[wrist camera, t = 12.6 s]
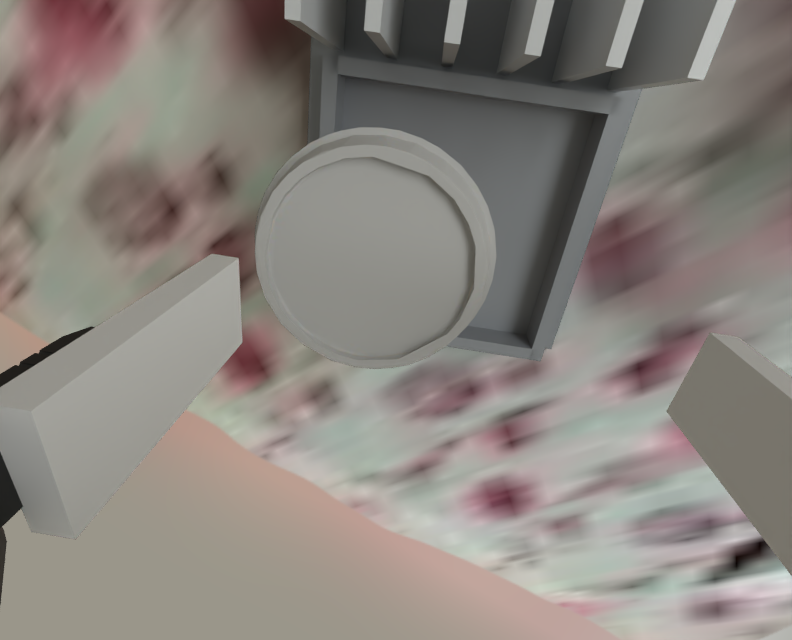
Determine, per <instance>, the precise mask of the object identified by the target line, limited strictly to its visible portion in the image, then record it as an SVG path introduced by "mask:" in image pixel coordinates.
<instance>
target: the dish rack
mask: <svg viewBox="0 0 792 640" xmlns="http://www.w3.org/2000/svg"><path fill="white" fill-rule="evenodd" d="M735 2H736V0H285V19H286V20H287V21H289V22H290V23H292V24H293V25H295V26H296V27H298V28H299V29H301V30H303V31H304V32H306V33H307V34H309V35H310V36H311V58H310V87H309V116H308V144H309V143H311V142H313V141H315V140H318V139H320V138H322V137H324V136H326V135H329V134H332V133H335V132H338V131H342V130H348V129H353V128H359V127H373V128H387V129H393V130H400V131H403V132H406V133H408V134H411V135H414V136H417V137H420V138H422V139H424V140H426V141H428V142H430V143H432V144H433V145H435V146H437V147H439V148H441V149H442V150H443V151H444V152H446V153H447V154H448V155H449V156H450V157H452V158H453V159H454V160H455V161H457V162H458V163H459V164H460V165H461V166H462V167H463V168H464V170H465V171H466V172H467V173H468V175H469V176H470V177H471V178H472V180H473V181H474V182H475V184H476V185H477V186H478V188H479V190H480V192H481V194H482V196H483V198H484V200H485V202H486V204H487V205H488V208H489V212H490V215H491V219H492V222H493V226H494V229H495V242H496V263H495V269H494V275H493V280H492V283H491V286H490V288H489V291H488V294H487V296H486V299H485V301H484V303H483V305H482V306H481V308H480V309H479V311H478V312H477V314H476V316H475V317H474V318H473V320H472V321H471V322H470V323H469V324H468V326H467V327H466V328H465V329H464V330H463V331H462V332H461V333H460V334H459V335H458V336H457V337H456V338H455V339H454V340H452V341H451V342H450V343H449V344H448V345H447V346H448V347H454V348H461V349H467V350H473V351H479V352H486V353H492V354H498V355H504V356H511V357H517V358H523V359H530V360H536V361H541V359H542V356H543V353H544V350H545V348H547V349H551V348H552V345H553V342H554V339H555V336H556V333H557V331H558V328H559V325H560V322H561V319H562V316H563V313H564V311H565V308H566V305H567V302H568V299H569V296H570V293H571V291H572V288H573V285H574V282H575V279H576V276H577V274H578V271H579V268H580V265H581V262H582V259H583V256H584V254H585V251H586V248H587V245H588V242H589V239H590V236H591V234H592V231H593V228H594V225H595V222H596V219H597V217H598V214H599V211H600V208H601V205H602V202H603V199H604V197H605V194H606V191H607V188H608V185H609V182H610V179H611V177H612V174H613V171H614V168H615V165H616V162H617V160H618V157H619V154H620V151H621V148H622V145H623V142H624V140H625V137H626V134H627V131H628V128H629V125H630V122H631V120H632V117H633V114H634V111H635V108H636V105H637V102H638V100H639V97H640V94H641V91H642V89H643V88H650V87H657V86H664V85H672V84H679V83H686V82H694V81H701V80H704V78H705V76H706V73H707V71H708V68H709V66H710V63H711V61H712V58H713V56H714V54H715V51H716V49H717V46H718V44H719V41H720V39H721V36H722V34H723V31H724V29H725V26H726V24H727V21H728V19H729V17H730V14H731V12H732V9H733V7H734V4H735Z"/></svg>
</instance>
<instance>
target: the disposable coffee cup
mask: <svg viewBox="0 0 792 640" xmlns="http://www.w3.org/2000/svg"><path fill="white" fill-rule="evenodd" d="M255 257H256V268H257V275H258V278H259V281H260V284H261V287H262V290H263V293H264V296H265V299H266V300H267V302H268V303H269V305H270V307H271V308H272V310H273V311H274V313H275V315H276V316H277V318H278V319H279V321H280V323H281V324H282V325H283V326H284V327H285V328H286V329H287V330H288V331H289V332H291V333H292V334H293V335H294V336H295V337H296V338H297V339H298V340H299V341H300V342H301V343H302V344H303V345H304V346H306V347H308V348H310V349H312V350H313V351H315V352H317V353H319V354H321V355H322V356H324V357H326V358H328V359H330V360H332V361H335V362H339V363H342V364H346V365H349V366H353V367H359V368H369V369H382V368H393V367H399V366H405V365H409V364H412V363H415V362H417V361H420V360H423V359H425V358H428V357H430V356H431V355H433V354H435V353H436V352H438V351H439V350H441V349H443V348H444V347H446V346H447V345H448V344H449V343H450V342H451V341H452V340H454V339H455V338H456V337H457V336H458V335H459V334H460V333H461V332H462V331H463V330H464V329H465V328H466V327H467V326H468V324H469V323H470V322H471V321H472V320H473V318H474V317H475V316H476V314H477V312H478V311H479V309H480V308H481V306H482V305H483V303H484V301H485V299H486V296H487V294H488V291H489V288H490V286H491V283H492V280H493V275H494V269H495V263H496V242H495V229H494V226H493V222H492V219H491V215H490V212H489V208H488V205H487V204H486V202H485V200H484V198H483V196H482V194H481V192H480V190H479V188H478V186H477V185H476V184H475V182H474V181H473V180H472V178H471V177H470V176H469V175H468V173H467V172H466V171H465V170H464V168H463V167H462V166H461V165H460V164H459V163H458V162H457V161H455V160H454V159H453V158H452V157H450V156H449V155H448V154H447V153H446V152H444V151H443V150H442V149H441V148H439V147H437V146H435V145H433V144H432V143H430V142H428V141H426V140H424V139H422V138H420V137H417V136H414V135H411V134H408V133H406V132H403V131H400V130H393V129H387V128H373V127H359V128H353V129H348V130H342V131H338V132H335V133H332V134H329V135H326V136H324V137H322V138H320V139H318V140H315V141H313V142H311V143H309V144H308V145H307V146H305V147H304V148H303V149H301V150H300V151H298V152H297V153H296V154H294V155H293V156H292V157H291V158H290V159H289V160H288V161H287V162H286V163H285V164H284V165H283V166H282V167H281V168H280V170H279V171H278V172H277V173H276V175H275V177H274V178H273V180H272V182H271V183H270V185H269V187H268V188H267V190H266V192H265V193H264V196H263V199H262V202H261V205H260V208H259V211H258V216H257V222H256V227H255Z"/></svg>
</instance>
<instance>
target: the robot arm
mask: <svg viewBox="0 0 792 640" xmlns="http://www.w3.org/2000/svg"><path fill="white" fill-rule="evenodd" d="M241 344H242V323H241V300H240V278H239V258H235V257H229V256H223V255H216V254H211V255H209V256H207V257H206V258H204V259H203V260H201V261H200V262H198V263H196V264H195V265H193V266H192V267H190V268H188V269H187V270H185V271H184V272H182V273H181V274H179V275H177V276H176V277H174V278H173V279H171V280H169V281H168V282H166V283H165V284H163V285H162V286H160V287H158V288H157V289H155V290H154V291H152V292H150V293H149V294H147V295H146V296H144V297H142V298H141V299H139V300H138V301H136V302H135V303H133V304H131V305H130V306H128V307H127V308H125V309H123V310H122V311H120V312H119V313H117V314H116V315H114V316H112V317H111V318H109V319H108V320H106V321H104V322H103V323H101V324H100V325H98V326H97V327H89V328H86V329H83V330H80V331H77V332H74V333H71V334H69V335H66V336H63V337H61V338H59V339H58V340H56V341H54V342H53V343H51V344H49V345H48V346H46V347H44V348H43V349H41V350H40V352H39V354H37V353H34V354H33V355H31V356H30V357H28V358H26V359H25V360H23V361H21V362H20V365H19V366H17V365H15V366H13V367H11V368H10V369H8V370H6V371H5V372H3V373H1V374H0V603H1V593H2V583H3V573H4V563H5V552H6V542H7V541H6V537H5V534H4V530H3V528H2V526H3V525H4V524H5V523H6V522H7V521H8V520H9V519H10V518H11V517H13V515H15V514H16V513H17V512H18V510H20V509H22V511H23V513H24V516H25V518H26V521H27V523H28V525H29V528H30V530H31V532H35V533H40V534H46V535H52V536H58V537H63V538H69V539H77V537H78V536H79V535H80V534H81V533H82V532H83V530H84V529H85V528H86V527H87V525H88V524H89V523H90V522H91V521H92V520H93V519H94V517H95V516H96V515H97V514H98V513H99V511H100V510H101V509H102V508H103V507H104V506H105V504H106V503H107V502H108V501H109V500H110V498H111V497H112V496H113V495H114V494H115V493H116V491H117V490H118V489H119V488H120V487H121V485H122V484H123V483H124V482H125V481H126V480H127V478H128V477H129V476H130V475H131V474H132V472H133V471H134V470H135V469H136V468H137V467H138V465H139V464H140V463H141V462H142V461H143V459H144V458H145V457H146V456H147V455H148V453H149V452H150V451H151V450H152V449H153V448H154V446H155V445H156V444H157V443H158V441H159V440H160V439H161V438H162V437H163V436H164V435H165V433H166V432H167V431H168V430H169V429H170V427H171V426H172V425H173V424H174V423H175V422H176V420H177V419H178V418H179V417H180V416H181V414H182V413H183V412H184V411H185V410H186V409H187V407H188V406H189V405H190V404H191V403H192V401H193V400H194V399H195V398H196V397H197V396H198V394H199V393H200V392H201V391H202V390H203V388H204V387H205V386H206V385H207V384H208V383H209V381H210V380H211V379H212V378H213V377H214V375H215V374H216V373H217V372H218V371H219V370H220V368H221V367H222V366H223V365H224V364H225V362H226V361H227V360H228V359H229V358H230V357H231V355H232V354H233V353H234V352H235V351H236V349H237V348H238V347H239V346H240V345H241ZM667 413H668V414H669V415H670V417H671V418H672V419H673V420H674V422H675V423H676V424H677V426H678V427H679V428H680V430H681V431H682V432H683V434H684V435H685V436H686V438H687V439H688V440H689V441H690V443H691V444H692V445H693V447H694V448H695V449H696V451H697V452H698V453H699V455H700V456H701V457H702V459H703V460H704V461H705V462H706V464H707V465H708V466H709V468H710V469H711V470H712V472H713V473H714V474H715V476H716V477H717V478H718V480H719V481H720V482H721V483H722V485H723V486H724V487H725V489H726V490H727V491H728V493H729V494H730V495H731V497H732V498H733V499H734V501H735V502H736V503H737V505H738V506H739V507H740V508H741V510H742V511H743V512H744V514H745V515H746V516H747V518H748V519H749V520H750V522H751V523H752V524H753V526H754V527H755V528H756V529H757V531H758V532H759V533H760V535H761V536H762V537H763V539H764V540H765V541H766V543H767V544H768V545H769V547H770V548H771V549H772V550H773V552H774V553H775V554H776V556H777V557H778V558H779V560H780V561H781V562H782V564H783V565H784V566H785V568H786V569H787V570H788V571H789V573H790V574H791V575H792V377H791V376H789V375H788V374H787V373H785V372H784V371H783V370H781V369H780V368H779V367H777V366H776V365H775V364H773V363H772V362H771V361H769V360H768V359H767V358H765V357H764V356H763V355H761V354H760V353H759V352H757V351H756V350H755V349H753V348H752V347H751V346H749V345H748V344H747V343H745V342H744V341H743V340H741V339H740V338H739V337H735V336H729V335H722V334H716V333H709V335H708V337H707V339H706V341H705V343H704V344H703V346H702V348H701V350H700V352H699V353H698V355H697V357H696V359H695V361H694V362H693V364H692V366H691V368H690V370H689V372H688V373H687V375H686V377H685V379H684V381H683V382H682V384H681V386H680V388H679V390H678V391H677V393H676V395H675V397H674V399H673V401H672V402H671V404H670V406H669V408H668V410H667Z"/></svg>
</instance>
